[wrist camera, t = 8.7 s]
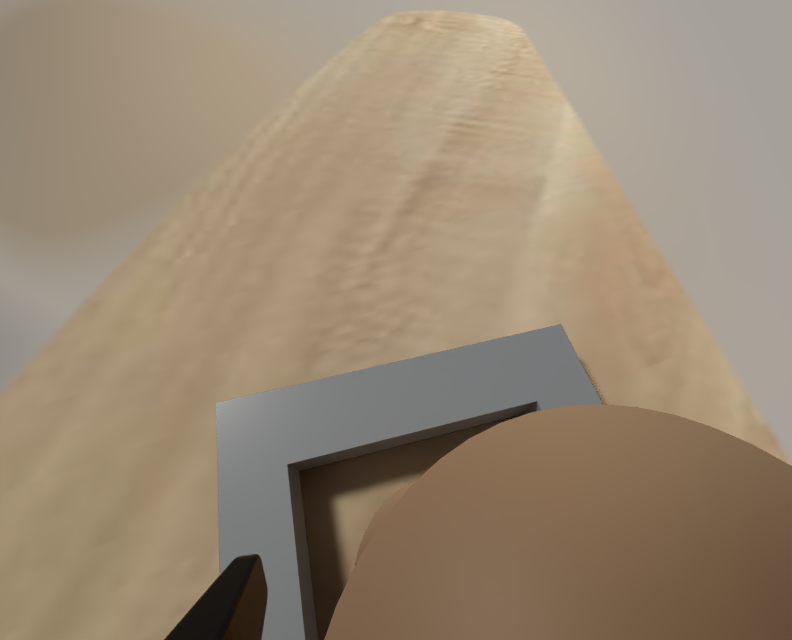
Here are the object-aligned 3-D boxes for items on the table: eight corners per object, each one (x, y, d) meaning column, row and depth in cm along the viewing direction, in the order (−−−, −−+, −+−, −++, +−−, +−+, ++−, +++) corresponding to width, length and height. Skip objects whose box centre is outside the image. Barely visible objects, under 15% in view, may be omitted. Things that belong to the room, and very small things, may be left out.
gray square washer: (775, 819, 11) (847, 874, 9) (261, 1042, 9) (230, 1162, 8) (545, 343, 19) (560, 324, 17) (234, 415, 17) (216, 402, 15)
